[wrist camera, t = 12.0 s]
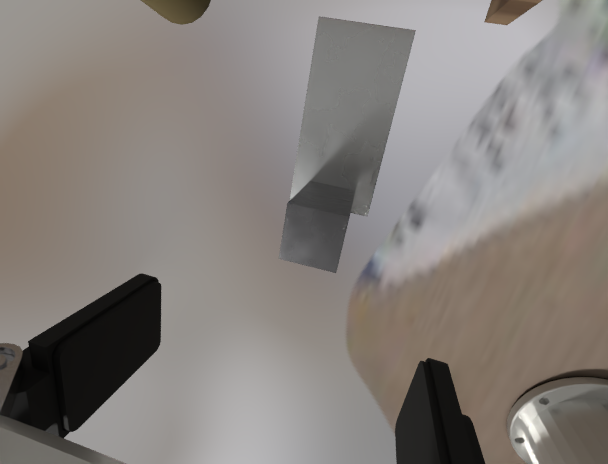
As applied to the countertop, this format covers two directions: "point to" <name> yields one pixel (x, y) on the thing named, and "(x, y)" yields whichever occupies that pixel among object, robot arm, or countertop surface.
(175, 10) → the cork
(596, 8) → the countertop surface
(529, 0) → the low shelf
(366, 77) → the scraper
